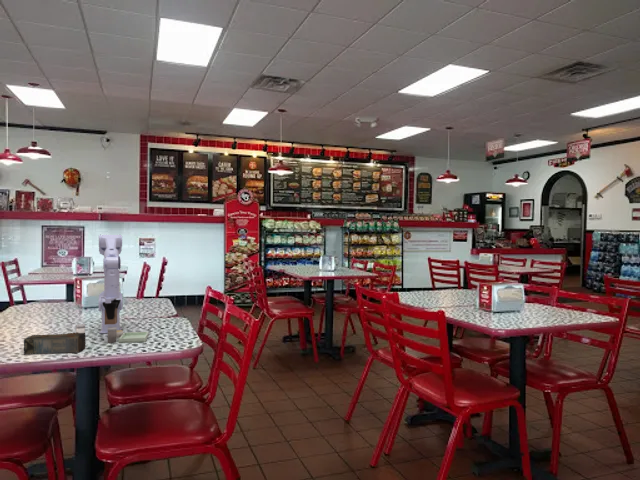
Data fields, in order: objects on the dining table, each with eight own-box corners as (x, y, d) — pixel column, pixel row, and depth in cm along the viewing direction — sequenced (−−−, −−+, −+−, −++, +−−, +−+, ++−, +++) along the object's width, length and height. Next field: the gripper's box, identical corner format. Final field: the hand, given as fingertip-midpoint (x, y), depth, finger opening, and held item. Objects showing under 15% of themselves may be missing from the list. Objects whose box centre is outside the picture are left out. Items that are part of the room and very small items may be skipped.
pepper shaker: (108, 341, 191) (108, 326, 191) (117, 341, 192) (117, 326, 191) (106, 343, 187) (106, 328, 187) (115, 343, 188) (115, 328, 188)
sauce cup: (113, 336, 201) (113, 330, 201) (123, 335, 202) (123, 329, 202) (112, 338, 197) (112, 332, 197) (122, 337, 198) (122, 331, 198)
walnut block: (106, 322, 195) (106, 308, 195) (117, 322, 196) (117, 308, 196) (104, 324, 191) (104, 309, 191) (115, 324, 192) (115, 309, 192)
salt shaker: (77, 338, 195) (77, 324, 195) (85, 338, 196) (85, 324, 196) (75, 340, 192) (75, 325, 192) (83, 340, 193) (84, 325, 193)
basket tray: (123, 336, 199) (123, 332, 199) (148, 335, 202) (148, 331, 202) (118, 343, 188) (118, 338, 188) (145, 342, 190) (145, 337, 190)
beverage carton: (31, 350, 177) (32, 332, 177) (86, 348, 180) (86, 331, 180) (22, 355, 169) (22, 337, 169) (80, 353, 173) (80, 335, 173)
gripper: (105, 283, 199) (105, 315, 200) (97, 287, 185) (97, 321, 185) (123, 283, 201) (122, 315, 201) (116, 287, 187) (116, 321, 187)
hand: (111, 318), depth 193 cm, fingers closed on walnut block, 4 cm apart
